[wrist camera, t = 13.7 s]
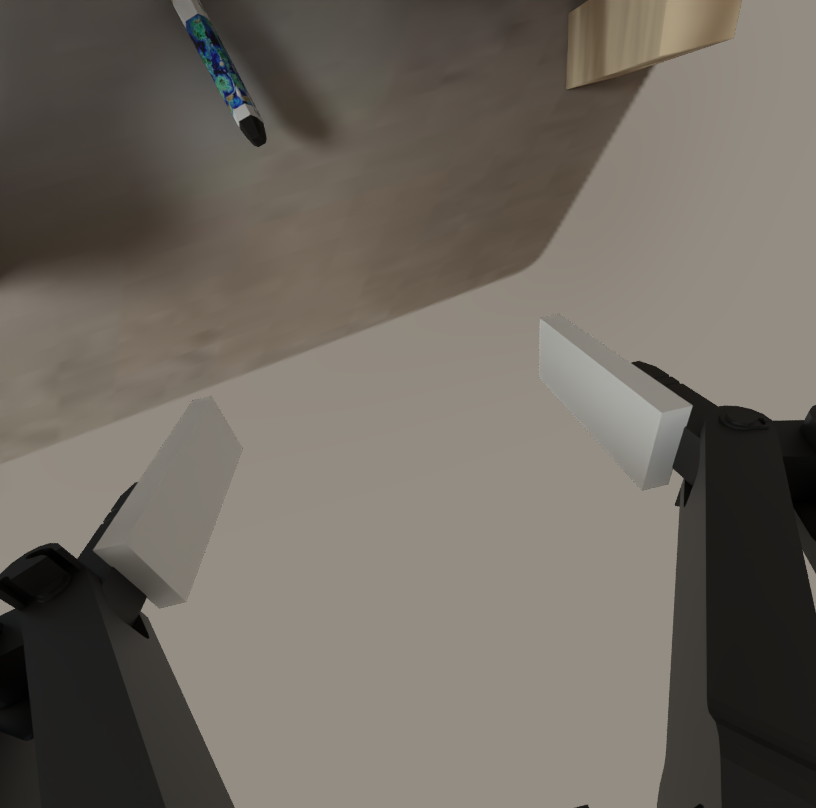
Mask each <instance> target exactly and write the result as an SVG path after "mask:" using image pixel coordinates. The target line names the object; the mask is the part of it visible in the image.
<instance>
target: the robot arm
mask: <svg viewBox="0 0 816 808" xmlns="http://www.w3.org/2000/svg"><path fill="white" fill-rule="evenodd" d="M539 345H540V346H539V378H540V380H541V381H542V382H543V383H544V384H545V385H546V386H547V387H548V388H549V389H550V390H551V392H552V393H553V394H554V395H555V396H556V397H557V398H558V399H559V400H560V401H561V403H562V404H563V405H564V406H565V407H566V408H567V409H568V410H569V411H570V412H571V413H572V414H573V416H574V417H575V418H576V419H577V420H578V421H579V422H580V423H581V424H582V425H583V427H584V428H585V429H586V430H587V431H588V432H589V433H590V434H591V435H592V436H593V438H595V440H596V441H597V442H598V443H599V444H600V445H601V446H602V447H603V448H604V449H605V450H606V452H607V453H608V454H609V455H610V456H611V457H612V458H613V459H614V460H615V462H616V463H617V464H618V465H619V466H620V467H621V468H622V469H623V470H624V471H625V473H626V474H627V475H628V476H629V477H630V478H631V479H632V480H633V481H634V482H635V483H636V485H637V486H638V487H639V488H640V489H641V490H647V489H650V488H655V487H659V486H663V485H667V484H668V483H669V480H670V476H671V474H672V470H673V469H674V470H675V471H676V472H678V473H679V474H680V475H681V476H682V477H683V478H684V480H683V483H682V485H681V488H680V491H679V494H678V497H677V500H676V503H675V506H680V512H679V530H678V548H677V565H676V584H675V602H674V619H673V638H672V655H671V673H670V691H669V710H668V727H667V745H666V758H665V765H664V769H663V774H662V778H661V782H660V787H659V794H658V802H657V808H816V612H815V607H814V602H813V597H812V593H811V588H810V583H809V579H808V574H807V570H806V565H805V560H804V556H803V551H804V553H805V555H806V557H807V559H808V560H809V562H810V564H811V566H812V568H813V569H814V571H815V573H816V405H815V406H813V407H812V408H811V409H810V411H809V413H808V415H807V416H806V418H805V420H794V421H793V420H792V421H791V420H789V421H772V420H771V419H769V418H768V417H766V416H765V415H764V414H762V413H759V412H757V411H754V410H752V409H748V408H743V407H739V406H719V407H718V406H716V405H715V404H713V403H712V402H710V401H709V400H707V399H706V398H704V397H702V396H701V395H699V394H698V393H696V392H695V391H693V390H692V389H690V388H688V387H687V386H685V385H684V384H680V383H679V381H677V380H676V379H674V378H673V377H669V375H668V374H667V373H665V372H664V371H662V370H660V369H659V368H657V367H655V366H653V365H649V364H647V363H643V362H640V361H637V362H632V363H630V362H629V361H627V360H626V359H624V358H623V357H621V356H620V355H618V354H617V353H616V352H614V351H613V350H611V349H610V348H608V347H607V346H605V345H604V344H602V343H601V342H599V341H598V340H597V339H595V338H593V337H592V336H591V335H589V334H588V333H586V332H585V331H583V330H582V329H581V328H579V327H578V326H576V325H574V324H573V323H571V322H570V321H569V320H568V319H566V318H565V317H563V316H562V315H560V314H555V315H550V316H546V317H542V318H540V341H539ZM242 450H243V448H242V446H241V444H240V443H239V441H238V439H237V437H236V436H235V434H234V433H233V431H232V429H231V427H230V426H229V424H228V422H227V421H226V419H225V417H224V416H223V414H222V412H221V411H220V409H219V407H218V405H217V404H216V402H215V401H214V399H213V397H212V396H209V397H204V398H200V399H197V400H192V402H191V403H190V405H189V406H188V408H187V409H186V411H185V412H184V414H183V415H182V417H181V418H180V420H179V421H178V423H177V424H176V426H175V427H174V429H173V430H172V432H171V433H170V435H169V436H168V438H167V439H166V441H165V442H164V444H163V445H162V447H161V449H160V450H159V451H158V453H157V454H156V456H155V457H154V459H153V460H152V462H151V463H150V465H149V467H148V468H147V470H146V471H145V473H144V474H143V475H142V477H141V479H140V480H139V482H136V483H134V484H133V485H132V486H131V487H130V488H129V489H128V490H127V491H126V492H125V493H123V494H122V495H121V496H120V498H119V499H118V501H117V502H116V504H115V505H114V507H113V508H112V509H111V512H110V513H109V514H108V515H107V517H106V518H105V520H104V521H103V522H104V524H101V525H100V527H99V528H98V530H97V531H96V533H95V534H94V535H93V537H92V538H91V540H90V541H89V543H88V544H87V546H86V547H85V549H84V550H83V551H82V553H81V554H80V556H79V557H78V559H76V558H75V557H74V556H73V555H71V554H70V553H69V552H68V551H67V550H65V549H64V548H63V547H62V546H60V545H59V544H58V543H49V544H46V545H43V546H40V547H37V548H35V549H33V550H31V551H30V552H28V553H26V554H24V555H23V556H22V557H20V558H19V559H17V560H16V561H15V562H13V563H12V564H10V565H9V566H8V567H7V568H6V569H5V570H4V571H3V572H2V573H1V574H0V599H1V600H3V601H5V602H6V603H8V604H9V605H11V606H13V607H14V608H15V609H13V610H11V611H9V612H7V613H5V614H3V615H1V616H0V808H234V805H233V803H232V801H231V799H230V797H229V794H228V792H227V790H226V788H225V786H224V783H223V781H222V779H221V777H220V775H219V772H218V770H217V768H216V766H215V764H214V762H213V759H212V757H211V755H210V753H209V751H208V748H207V746H206V744H205V742H204V740H203V737H202V735H201V733H200V731H199V729H198V726H197V724H196V722H195V720H194V718H193V716H192V713H191V711H190V709H189V707H188V705H187V702H186V700H185V698H184V696H183V694H182V692H181V689H180V687H179V685H178V683H177V680H176V678H175V676H174V674H173V672H172V669H171V667H170V665H169V663H168V661H167V659H166V656H165V654H164V652H163V650H162V648H161V645H160V643H159V641H158V639H157V637H156V634H155V632H154V630H153V628H152V626H151V623H150V621H149V619H148V617H146V616H145V615H144V614H143V613H142V612H141V609H142V606H143V604H144V602H145V600H146V598H148V599H149V600H150V601H151V602H152V603H154V604H155V605H156V606H157V607H158V608H164V607H168V606H172V605H176V604H180V603H184V602H187V599H188V596H189V594H190V591H191V588H192V585H193V583H194V580H195V577H196V575H197V572H198V569H199V566H200V564H201V561H202V558H203V555H204V553H205V550H206V547H207V544H208V542H209V539H210V537H211V534H212V531H213V529H214V526H215V523H216V520H217V518H218V515H219V512H220V509H221V507H222V504H223V501H224V499H225V496H226V493H227V490H228V488H229V485H230V482H231V480H232V477H233V474H234V472H235V469H236V466H237V464H238V461H239V458H240V455H241V453H242ZM802 550H803V551H802ZM577 808H589V807H588V805H584V806H580V807H577Z"/></svg>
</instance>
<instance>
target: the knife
mask: <svg viewBox="0 0 816 808" xmlns="http://www.w3.org/2000/svg"><path fill="white" fill-rule="evenodd" d="M171 2H172V4H173V6H174V8H175V10H176V12H177V13H178V15H179V17H180V19H181V21H182V23H183V24H184V26H185V28H186V30H187V32H188V34H189V36H190V37H191V39H192V41H193V43H194V45H195V47H196V49H197V50H198V52H199V54H200V56H201V58H202V60H203V61H204V63H205V65H206V67H207V69H208V71H209V73H210V74H211V76H212V78H213V80H214V82H215V84H216V86H217V87H218V89H219V91H220V93H221V95H222V97H223V98H224V100H225V102H226V104H227V106H228V108H229V110H230V111H231V113H232V115H233V117H234V119H235V121H236V123H237V124H238V126H239V128H240V129H241V131H242V132H243V133H244V135H245V136H246V137H247V138H248V140H249V141H250V142H251V143H252V144H253V145H254V146H257V147H260V146H261V145H263V144H265V143H266V139H267V138H266V133H265V128H264V123H263V121H262V119H261V117H260V114H259V113H258V111H257V109H256V107H255V105H254V103H253V101H252V99H251V97H250V95H249V93H248V92H247V90H246V88H245V86H244V84H243V82H242V80H241V78H240V76H239V74H238V72H237V71H236V69H235V67H234V65H233V63H232V61H231V59H230V57H229V55H228V53H227V51H226V49H225V48H224V46H223V44H222V42H221V40H220V38H219V36H218V34H217V32H216V30H215V28H214V27H213V25H212V23H211V21H210V19H209V17H208V15H207V13H206V11H205V9H204V7H203V5H202V4H201V2H200V0H171Z"/></svg>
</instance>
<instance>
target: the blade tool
mask: <svg viewBox="0 0 816 808" xmlns="http://www.w3.org/2000/svg"><path fill="white" fill-rule="evenodd" d="M741 2H742V0H587V1H586V2H585V3H583V4H582V5H580V6H579V7H577V8H576V9H575V10H573V11H572V12H570V13H569V18H568V49H567V81H566V90H567V89H571V88H575V87H579V86H583V85H587V84H591V83H595V82H599V81H603V80H607V79H611V78H615V77H619V76H622V75H625V74H628V73H631V72H634V71H637V70H640V69H643V68H646V67H649V66H652V65H655V64H658V63H661V62H664V61H667V60H670V59H673V58H675V57H679V56H682V55H684V54H688V53H691V52H693V51H696V50H700V49H702V48H705V47H708V46H711V45H714V44H717V43H720V42H723V41H726V40H729V39H732V38H734V34H735V30H736V25H737V20H738V15H739V11H740V7H741Z"/></svg>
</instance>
